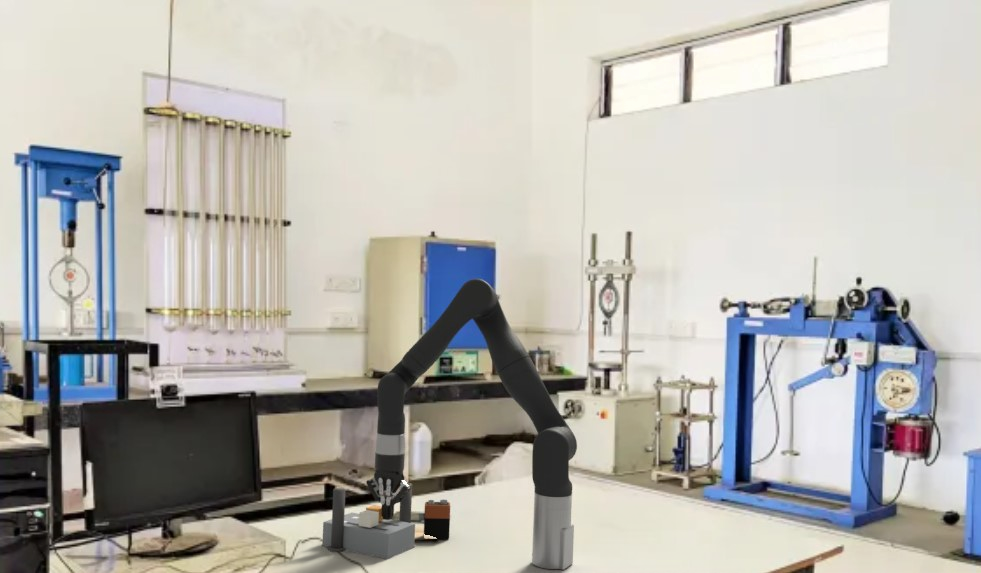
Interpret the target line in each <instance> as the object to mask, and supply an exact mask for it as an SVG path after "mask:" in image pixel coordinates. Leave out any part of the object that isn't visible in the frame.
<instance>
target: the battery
mask: <svg viewBox="0 0 981 573" xmlns="http://www.w3.org/2000/svg"><path fill="white" fill-rule="evenodd" d="M423 515H424V516H423V517H424V519H423V520H424V521H423V535H424V534H425V535H430V536H433V537H436V538H437V539H438V541H439V540H440V541H441V540H443V541H445V540H446V541H447V540H449V539H450V529H451V528H450V523H451V502H449V501H448V500H447V499H440V500H439V501H435V500H434V499H428V500H427V501H425V503H424V514H423Z"/></svg>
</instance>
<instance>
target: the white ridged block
mask: <svg viewBox="0 0 981 573" xmlns="http://www.w3.org/2000/svg"><path fill="white" fill-rule="evenodd" d="M358 514H359V526H363V527H369V528H371V527H374V526H376V525H378V521H379V512H376V511H370V510H366V509H365V510H364V511H363V510H362V511H361V512H359V513H358Z"/></svg>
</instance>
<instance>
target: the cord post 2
mask: <svg viewBox="0 0 981 573" xmlns="http://www.w3.org/2000/svg"><path fill="white" fill-rule="evenodd" d="M406 483H407V484H408V485H409V484H410V485H411V486H412V488H411V489H410V491H409V492H408V493H407V494H406V496H405V497H404V498H403V499H402V501H401V502H399V520H398V521H402V522H408V523H412V503H413V502H412V501H413V500H412V498H413V483H411V482H406Z"/></svg>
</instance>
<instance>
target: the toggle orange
mask: <svg viewBox="0 0 981 573" xmlns="http://www.w3.org/2000/svg"><path fill="white" fill-rule="evenodd" d="M366 510H370V511H376V512H379V521H382V520H385V519H383V517H382V515H381V513H382V505H370V506H367V507H366V508H365V511H366ZM379 521H378V522H379Z"/></svg>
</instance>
